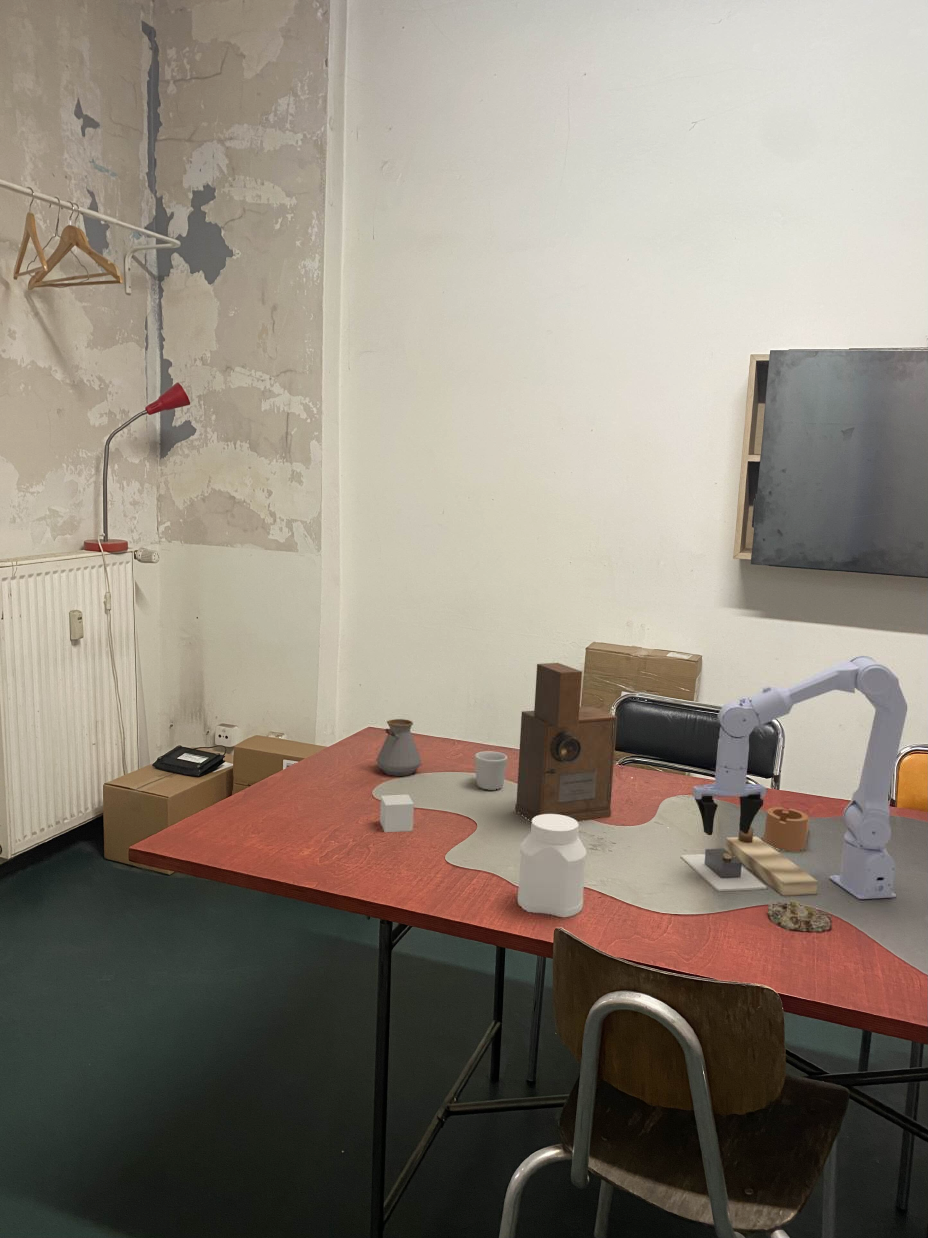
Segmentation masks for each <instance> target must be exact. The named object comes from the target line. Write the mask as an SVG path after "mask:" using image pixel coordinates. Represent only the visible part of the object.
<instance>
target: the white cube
mask: <svg viewBox="0 0 928 1238" xmlns="http://www.w3.org/2000/svg"><path fill="white" fill-rule="evenodd" d="M414 810H415V803H414V801H413V800H412V799H411V796H410V795H409V794H392V795H391V794H387V795H380V816H379V823H380V824H381V827H382V829H383V831H384V833H395V832H413V830H414Z"/></svg>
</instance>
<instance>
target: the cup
mask: <svg viewBox="0 0 928 1238" xmlns="http://www.w3.org/2000/svg"><path fill="white" fill-rule="evenodd" d="M508 758H509V757H508V756H507V754H505V753H503V752H498V751H490V750H487V751H486V750H484V751H479V752H477V753H475V755H474V761H475V763H474V764H475V765H474V766H475V780H476V782H475V783H476V785H477V787H478V788H479V789H483V790H486V789H487V791H497V790H500V789H502V788H503V786H504V784H505V777H506V771H507V765H508ZM496 789H497V790H496Z"/></svg>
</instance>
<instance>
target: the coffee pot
mask: <svg viewBox="0 0 928 1238" xmlns="http://www.w3.org/2000/svg"><path fill="white" fill-rule="evenodd" d="M386 723H387V726H388V727H389V728H385V729H383V730H382V731H381V736H382V737H384V738H385V739H384V742H383V745H382V747H381V749H380V751H379V753H378V755H377V756H376V760H375V761H376V764H377V765H378V767H379V769H381V770H382V771H383V773H385V774H386V775H390V776H395V777H397V776H398V777H399V776H401V777H402V776H403V777H404V776H410V775H412V774H413V773H414V772H415V771H416V770H417V769H419V768H420V766H421V764H422V758H421V755H420V753H419V749H418V747H417V745H416V742H415V740H414V737H413V734H412V732H411V729H412V726H413V725H414V722H413V721H412V720H409V719H403V718H398V719H397V718H396V719H389V720H387V721H386ZM384 731H385V733H387V736H386V737H385V735H383V732H384Z"/></svg>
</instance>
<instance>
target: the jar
mask: <svg viewBox="0 0 928 1238" xmlns="http://www.w3.org/2000/svg"><path fill="white" fill-rule="evenodd" d="M530 823H531V822H530ZM579 826H580V825H579V821H578V822H577V821H576V820H575V819H573V818H571V817H568V816H564V815H558V814H543V815H538V816H535V817H534V818H533V819H532V823H531V826H530V827H531V828H530V832H529V834H528V835H527V836H526V838H525V839H524V840H523V841H522V843H521V844H520V847H519V848H520V851H519V852H520V863H519V879H518V880H519V881H518V890H517V903H518V905H519V907H520V906H521V907H522V908H521V909H522V910H524V911H525V910H526V912H528V913H531V912H532V914H533V913H534V914H544V915H550V914H551V915H550V916H554V915H555V916H554V917H559V918H570V917H572V916H576V915H577V914H579V913H580V912H581V911H582V909H583V908H584V886H585V873H586V872H585V871H586V870H585V869H586V860H587V849H586V848H585V845H584V844H583V842H582V841H581V839H580V838H579Z"/></svg>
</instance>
